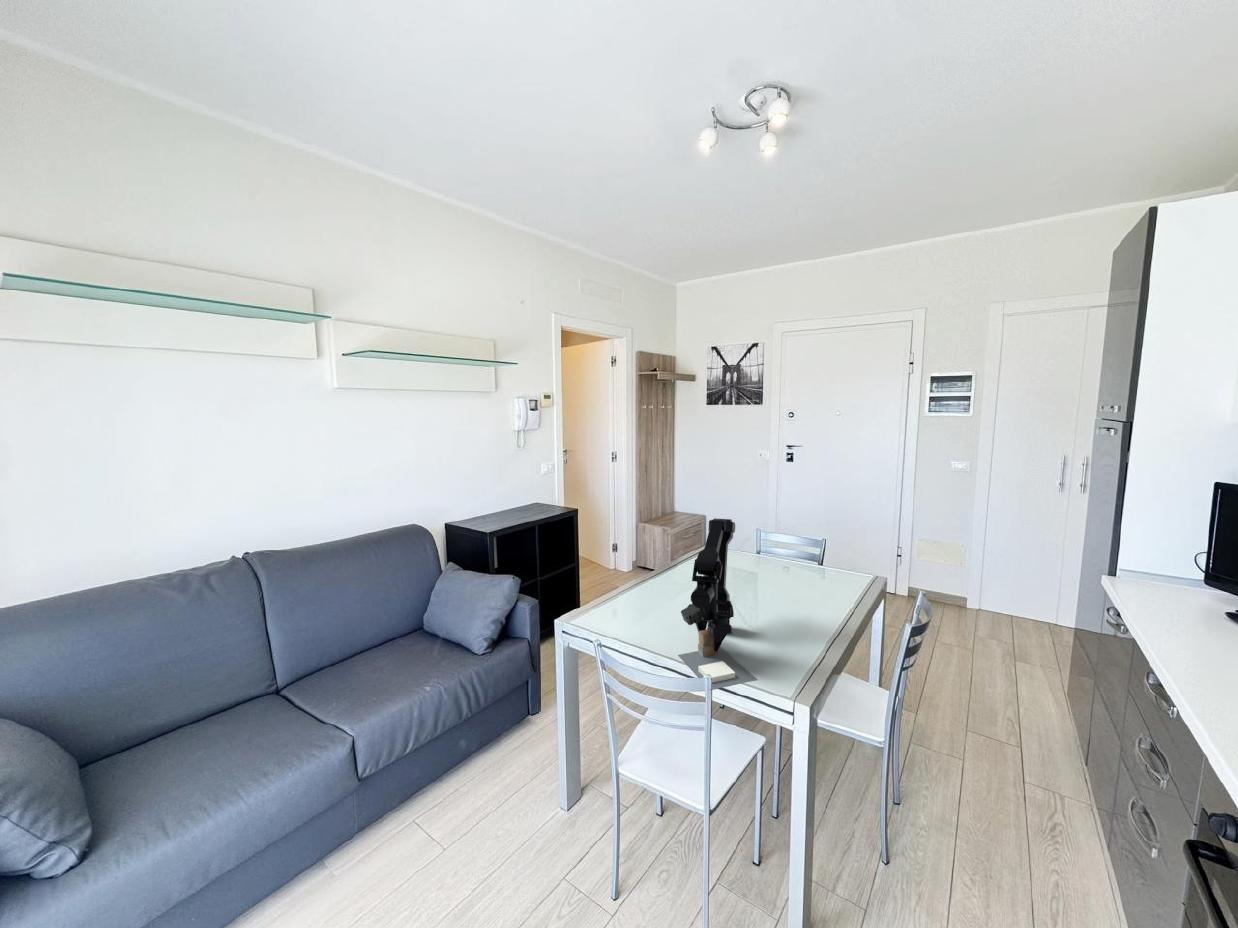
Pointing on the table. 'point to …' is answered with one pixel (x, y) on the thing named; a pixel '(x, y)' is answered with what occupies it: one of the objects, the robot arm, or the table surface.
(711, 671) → the tile
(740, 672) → the mat
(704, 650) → the block
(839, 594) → the table surface
